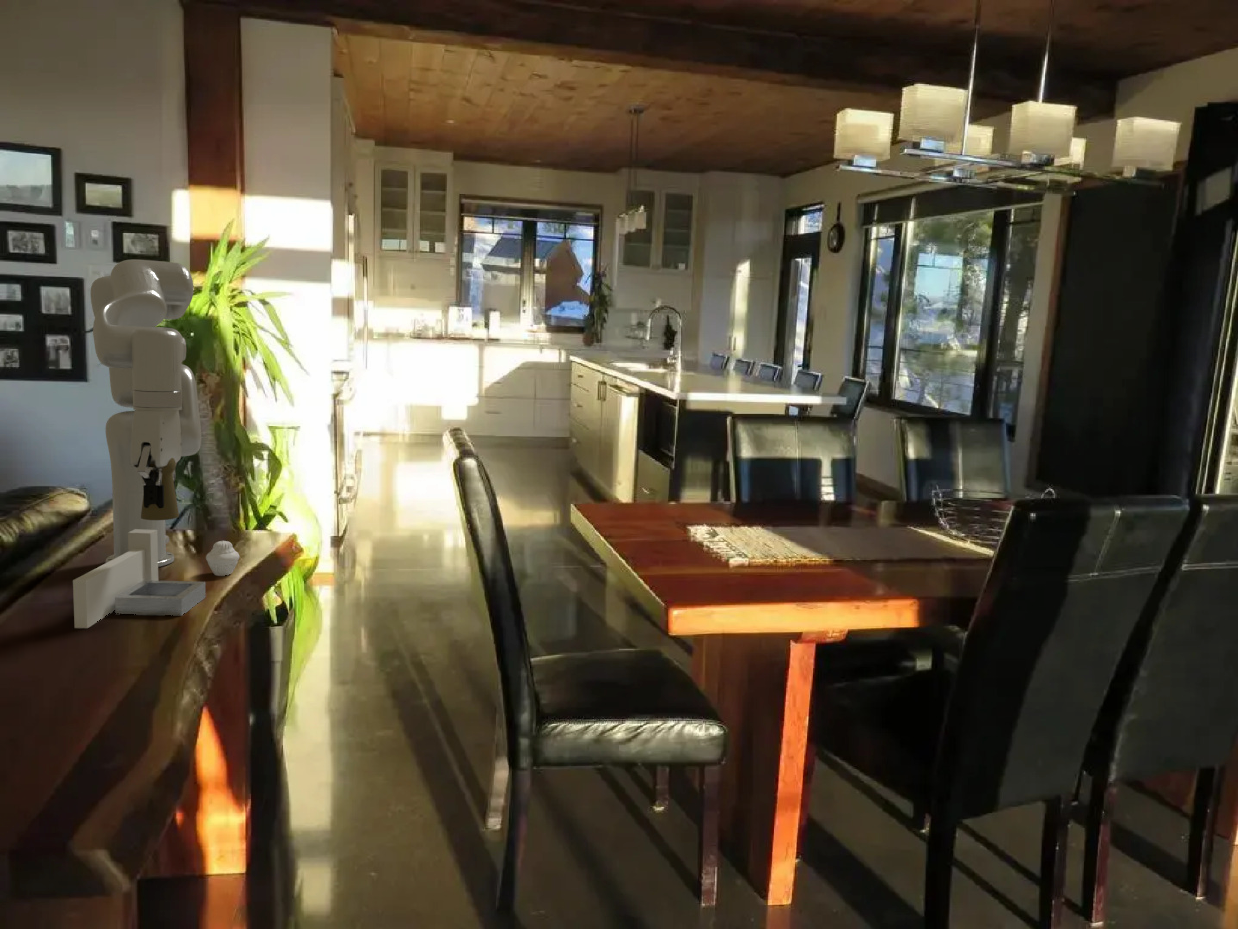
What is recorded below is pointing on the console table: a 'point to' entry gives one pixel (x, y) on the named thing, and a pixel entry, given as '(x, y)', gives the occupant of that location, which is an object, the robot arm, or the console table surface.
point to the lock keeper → (160, 598)
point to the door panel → (115, 578)
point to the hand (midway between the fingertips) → (159, 504)
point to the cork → (169, 497)
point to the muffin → (222, 558)
